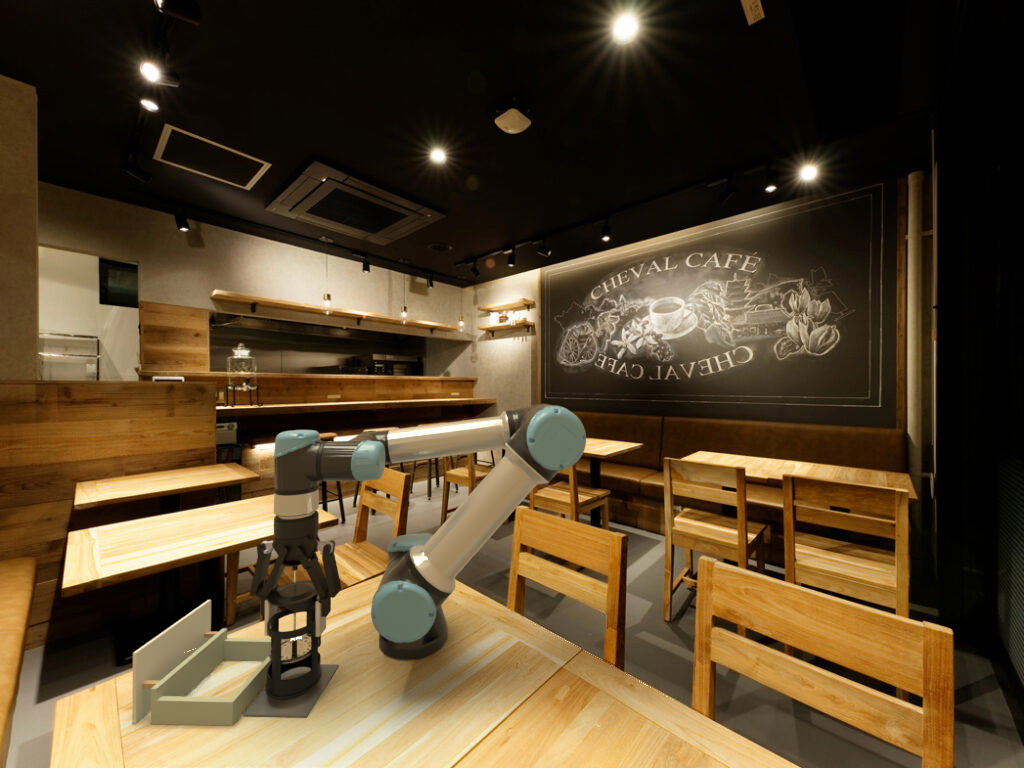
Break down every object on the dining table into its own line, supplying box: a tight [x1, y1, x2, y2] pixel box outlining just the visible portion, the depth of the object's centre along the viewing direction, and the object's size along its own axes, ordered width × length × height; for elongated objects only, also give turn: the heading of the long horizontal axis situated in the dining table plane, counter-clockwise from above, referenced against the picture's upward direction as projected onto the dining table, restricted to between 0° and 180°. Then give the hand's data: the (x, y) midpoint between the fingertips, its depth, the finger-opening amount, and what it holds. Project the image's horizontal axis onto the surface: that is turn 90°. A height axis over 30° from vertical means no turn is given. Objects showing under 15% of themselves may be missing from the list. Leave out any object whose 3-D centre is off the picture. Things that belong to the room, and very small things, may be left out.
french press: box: [264, 561, 322, 700], centre depth 78 cm, size 12×9×23 cm
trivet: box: [242, 663, 340, 719], centre depth 78 cm, size 11×13×1 cm
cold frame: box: [131, 599, 283, 727], centre depth 78 cm, size 17×17×12 cm
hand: (295, 631), depth 78 cm, fingers closed on french press, 9 cm apart
